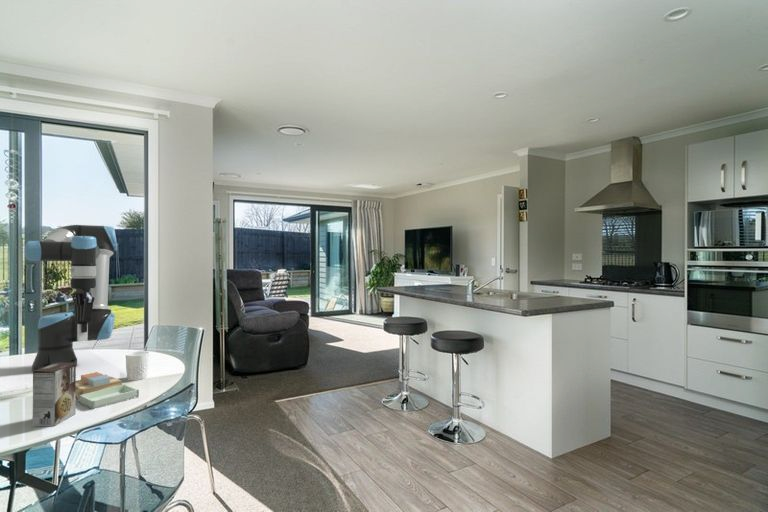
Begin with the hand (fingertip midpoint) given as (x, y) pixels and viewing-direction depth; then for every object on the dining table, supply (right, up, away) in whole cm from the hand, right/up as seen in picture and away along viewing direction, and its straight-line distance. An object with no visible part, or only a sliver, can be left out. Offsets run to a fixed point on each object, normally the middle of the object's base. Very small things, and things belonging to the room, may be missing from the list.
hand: (82, 340), depth 149 cm
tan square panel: (+9, -17, -6) cm, 20 cm away
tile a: (+7, -13, -4) cm, 16 cm away
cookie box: (+14, -18, -29) cm, 37 cm away
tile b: (+11, -13, -7) cm, 19 cm away
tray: (+18, -18, -12) cm, 28 cm away
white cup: (+13, -18, +12) cm, 25 cm away
